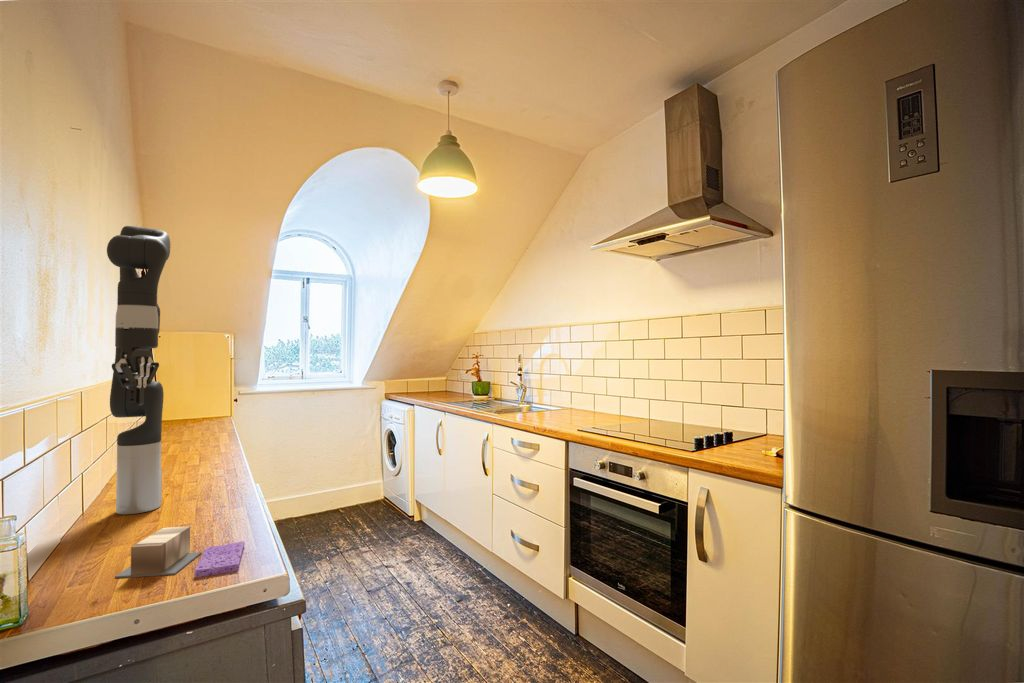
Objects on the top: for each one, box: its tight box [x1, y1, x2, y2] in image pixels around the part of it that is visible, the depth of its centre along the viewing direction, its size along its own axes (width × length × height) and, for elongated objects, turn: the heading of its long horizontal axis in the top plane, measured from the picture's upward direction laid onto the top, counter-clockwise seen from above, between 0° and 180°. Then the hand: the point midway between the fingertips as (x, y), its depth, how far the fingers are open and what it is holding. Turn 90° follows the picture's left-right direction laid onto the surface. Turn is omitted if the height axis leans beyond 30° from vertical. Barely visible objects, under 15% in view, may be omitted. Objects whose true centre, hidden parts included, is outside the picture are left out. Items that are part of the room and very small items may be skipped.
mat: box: [114, 551, 203, 579], centre depth 93 cm, size 10×10×1 cm
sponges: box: [194, 540, 246, 579], centre depth 95 cm, size 7×13×2 cm, turn 24°
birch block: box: [130, 526, 191, 575], centre depth 93 cm, size 5×5×10 cm
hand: (136, 405), depth 108 cm, fingers closed
